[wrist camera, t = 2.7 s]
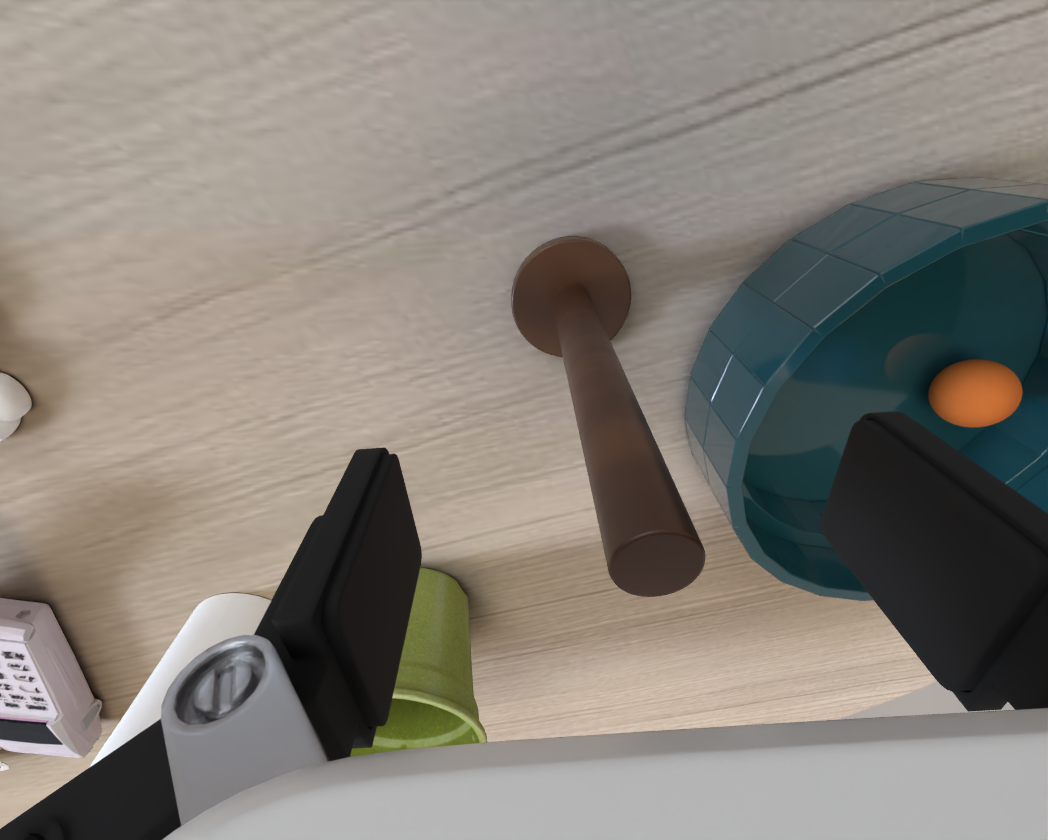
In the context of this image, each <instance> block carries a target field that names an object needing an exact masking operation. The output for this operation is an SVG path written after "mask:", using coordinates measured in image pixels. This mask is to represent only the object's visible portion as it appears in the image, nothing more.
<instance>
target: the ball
mask: <svg viewBox="0 0 1048 840" xmlns="http://www.w3.org/2000/svg"><path fill="white" fill-rule="evenodd" d="M1022 393H1023V390H1022V385H1021V382H1020V380H1019V378H1018V377H1017V376H1016V374H1015V373H1014V372H1013V371H1012V370H1010V369H1009V368H1008V367H1006V366H1004V365H1002V364H1000V363H997V362H994V361H990V360H982V359H971V360H965V361H960V362H957V363H954V364H952V365H950V366H948V367H946V368H945V369H943V370H942V371H941V372H939V373H938V374H937V375H936V377H935V378H934V379H933V381H932V382H931V385H930V387H929V393H928V397H929V402H930V405H931V407H932V408H933V410H934V411H935V412H936V414H937V415H938V416H940V417H941V418H942V419H944V420H946V421H947V422H950V423H952V424H955V425H958V426H962V427H985V426H990V425H993V424H996V423H998V422H1001V421H1003V420H1004V419H1006V418H1007V417H1009V416H1010V415H1011V414H1012V413H1013V412H1014V411H1015V410H1016V409H1017V408H1018V406H1019V404H1020V402H1021V399H1022Z"/></svg>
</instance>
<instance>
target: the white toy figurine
mask: <svg viewBox="0 0 1048 840" xmlns="http://www.w3.org/2000/svg"><path fill="white" fill-rule="evenodd" d="M31 406H32V402H31V398H30V396H29V394H28V392H27V391H26V390H25V388H24V387H23V386H22V385H21V384H20V383H19V382H18V381H16V380H15V379H14V378H12V377H11V376H9V375H7V374H4V373H1V372H0V442H1V441H3V440H5V439H6V438H7V437H9V436H10V435H11V434H12V433H13V432H14V431H15V430H16V428H17V427H18V426H19V424H20V421H21V417H22V416H24V415H25V414H26V413H27V412H28V411H29V410H30V409H31Z"/></svg>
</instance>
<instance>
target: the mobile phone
mask: <svg viewBox="0 0 1048 840" xmlns="http://www.w3.org/2000/svg"><path fill="white" fill-rule="evenodd" d="M101 708H102V702H101V701H100V700H99V699H94V697H93V695H92V692H91V690H90V688H89V686H88V684H87V682H86V679H85V677H84V675H83V673H82V671H81V668H80V666H79V664H78V662H77V660H76V658H75V655H74V653H73V651H72V649H71V647H70V645H69V644H68V642H67V640H66V638H65V636H64V634H63V632H62V630H61V628H60V626H59V624H58V622H57V620H56V618H55V616H54V614H53V612H52V610H51V608H50V606H49V604H45V603H37V602H29V601H21V600H13V599H5V598H0V747H2V748H3V749H5V750H7V751H12V752H20V753H31V754H42V755H53V756H64V757H75V758H84V757H85V756H86V755H87V754H88V753H89V752H90V750H91V749H92V748H93V745H94V743H95V742H96V741H97V740H98V739H99V737H100V735H101V733H102V728H101V721H100V716H99V712H100V710H101Z"/></svg>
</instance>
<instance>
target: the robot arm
mask: <svg viewBox="0 0 1048 840" xmlns="http://www.w3.org/2000/svg"><path fill="white" fill-rule="evenodd" d="M820 525H821V531H822V533H823V535H824V537H825V538H826V540H827V541H828V542H829V544H830V545H831V546H832V547H833V549H834V550H835V551H836V552H837V554H838V555H839V556H840V558H841V559H842V560H843V561H844V563H845V564H846V565H847V567H848V568H849V569H850V570H851V572H852V573H853V574H854V575H855V577H856V578H857V579H858V581H859V582H860V583H861V584H862V586H863V587H864V588H865V589H866V591H867V592H868V593H869V595H870V596H871V597H872V598H873V600H874V601H875V602H876V604H877V605H878V606H879V607H880V609H881V610H882V611H883V612H884V614H885V615H886V616H887V618H888V619H889V620H890V621H891V623H892V624H893V625H894V626H895V628H896V629H897V630H898V632H899V633H900V634H901V635H902V637H903V638H904V639H905V640H906V642H907V643H908V644H909V646H910V647H911V648H912V649H913V651H914V652H915V653H916V655H917V656H918V657H919V658H920V660H921V661H922V662H923V663H924V665H925V666H926V667H927V669H928V670H929V671H930V672H931V674H932V675H933V676H934V677H935V679H936V680H937V681H938V682H939V683H940V684H941V685H942V686H943V687H944V688H946V689H947V690H950V691H952V692H953V693H954V694H955V695H956V697H957V698H958V699H959V701H960V702H961V703H962V704H963V706H964V707H965V708H966V709H967V711H983V710H999V709H1002V708H1003V706H1004V705H1005V704H1006V703H1007V702H1009V703H1010V704H1011V705H1012V707H1013V708H1014V709H1015V710H1005V711H987V712H969V713H952V714H951V713H950V714H932V715H915V716H898V717H897V716H895V717H879V718H862V719H845V720H827V721H810V722H794V723H777V724H761V725H744V726H728V727H711V728H695V729H679V730H663V731H648V732H633V733H618V734H603V735H587V736H572V737H557V738H542V739H527V740H511V741H499V742H487V743H476V744H464V745H452V746H440V747H428V748H416V749H404V750H397V751H390V752H382V753H375V754H368V755H360V756H353V757H350V755H351V751H352V749H354V748H371V747H372V745H373V741H374V737H375V732H376V728H377V726H384V725H385V724H386V722H387V720H388V716H389V711H390V707H391V702H392V697H393V693H394V688H395V683H396V679H397V674H398V669H399V665H400V660H401V655H402V651H403V646H404V641H405V637H406V632H407V627H408V623H409V618H410V613H411V609H412V604H413V599H414V594H415V590H416V585H417V580H418V576H419V571H420V566H421V558H422V553H421V546H420V542H419V538H418V534H417V530H416V526H415V522H414V518H413V514H412V510H411V506H410V502H409V498H408V495H407V491H406V487H405V483H404V479H403V475H402V471H401V467H400V463H399V459H398V457H397V455H396V454H389V452H388V450H387V449H386V448H373V449H359V450H356V452H355V453H354V455H353V457H352V459H351V461H350V463H349V465H348V467H347V469H346V471H345V473H344V475H343V477H342V479H341V481H340V483H339V485H338V487H337V489H336V491H335V493H334V495H333V497H332V499H331V501H330V503H329V505H328V507H327V509H326V511H325V513H324V515H322V516H319V517H317V518H315V520H314V521H313V522H312V524H311V526H310V528H309V529H308V531H307V533H306V535H305V537H304V539H303V541H302V543H301V545H300V547H299V549H298V551H297V553H296V554H295V556H294V558H293V560H292V562H291V564H290V566H289V568H288V570H287V572H286V574H285V576H284V578H283V579H282V581H281V583H280V585H279V587H278V589H277V591H276V593H275V595H274V597H273V599H272V601H271V603H270V604H269V606H268V608H267V610H266V612H265V614H264V616H263V618H262V620H261V622H260V624H259V626H258V628H257V629H256V631H255V633H254V635H241V636H237V637H233V638H229V639H226V640H224V641H222V642H220V643H218V644H215V645H213V646H211V647H209V648H208V649H207V650H205V651H204V652H202V653H201V654H199V655H198V656H197V657H195V658H194V659H193V660H192V661H191V662H190V663H189V664H188V665H187V666H186V667H184V668H183V669H182V670H181V671H180V672H179V674H178V675H177V676H176V678H175V679H174V681H173V682H172V684H171V685H170V686H169V688H168V690H167V692H166V695H165V697H164V700H163V702H162V705H161V719H159V720H158V721H157V722H155V723H154V724H152V725H151V726H149V727H148V728H146V729H145V730H143V731H142V732H141V733H139V734H138V735H136V736H135V737H133V738H132V739H130V740H129V741H127V742H126V743H125V744H123V745H122V746H120V747H119V748H117V749H116V750H114V751H113V752H111V753H110V754H109V755H107V756H106V757H104V758H103V759H101V760H100V761H98V762H97V763H95V764H94V765H93V766H91V767H90V768H88V769H87V770H85V771H84V772H82V773H81V774H79V775H78V776H77V777H75V778H74V779H72V780H71V781H69V782H68V783H66V784H65V785H63V786H62V787H61V788H59V789H58V790H56V791H55V792H53V793H52V794H50V795H49V796H47V797H46V798H45V799H43V800H42V801H40V802H39V803H37V804H36V805H34V806H33V807H31V808H30V809H29V810H27V811H26V812H24V813H23V814H21V815H20V816H18V817H17V818H15V819H14V820H13V821H11V822H10V823H8V824H7V825H5V826H4V827H2V828H1V829H0V840H1048V514H1047V513H1046V512H1045V511H1043V510H1042V509H1040V508H1039V507H1037V506H1036V505H1035V504H1033V503H1032V502H1030V501H1029V500H1027V499H1026V498H1025V497H1023V496H1022V495H1020V494H1019V493H1017V492H1016V491H1015V490H1013V489H1012V488H1010V487H1009V486H1007V485H1006V484H1005V483H1003V482H1002V481H1000V480H999V479H997V478H996V477H995V476H993V475H992V474H990V473H989V472H988V471H986V470H985V469H983V468H982V467H980V466H979V465H978V464H976V463H975V462H973V461H972V460H970V459H969V458H968V457H966V456H965V455H963V454H962V453H960V452H959V451H958V450H956V449H955V448H953V447H952V446H950V445H949V444H948V443H946V442H945V441H943V440H942V439H940V438H939V437H938V436H936V435H935V434H933V433H932V432H930V431H929V430H928V429H926V428H925V427H923V426H922V425H920V424H919V423H918V422H916V421H915V420H913V419H912V418H910V417H909V416H908V415H906V414H904V413H902V412H900V411H891V412H877V413H867V414H865V415H863V416H862V417H861V418H860V420H859V421H857V422H855V423H854V424H853V426H852V428H851V431H850V434H849V437H848V440H847V443H846V446H845V449H844V452H843V455H842V458H841V461H840V464H839V467H838V470H837V473H836V476H835V479H834V482H833V485H832V488H831V490H830V493H829V496H828V499H827V502H826V505H825V508H824V511H823V514H822V517H821V522H820Z"/></svg>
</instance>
